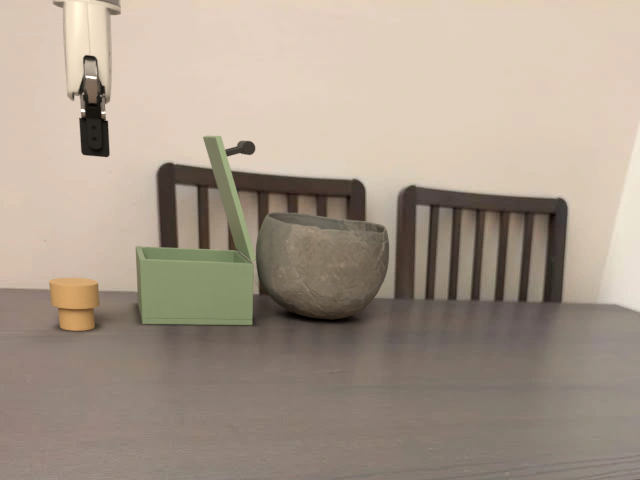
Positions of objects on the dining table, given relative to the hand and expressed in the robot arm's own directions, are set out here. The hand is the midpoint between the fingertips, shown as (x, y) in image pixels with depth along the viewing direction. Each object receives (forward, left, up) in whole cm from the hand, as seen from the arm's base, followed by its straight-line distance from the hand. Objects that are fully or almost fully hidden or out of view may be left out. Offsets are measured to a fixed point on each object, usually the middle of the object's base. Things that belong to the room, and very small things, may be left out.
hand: (95, 154), depth 92 cm
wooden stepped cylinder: (-3, -3, -22) cm, 22 cm away
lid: (+13, +14, -5) cm, 20 cm away
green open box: (+8, +12, -22) cm, 26 cm away
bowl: (+26, +20, -22) cm, 40 cm away
